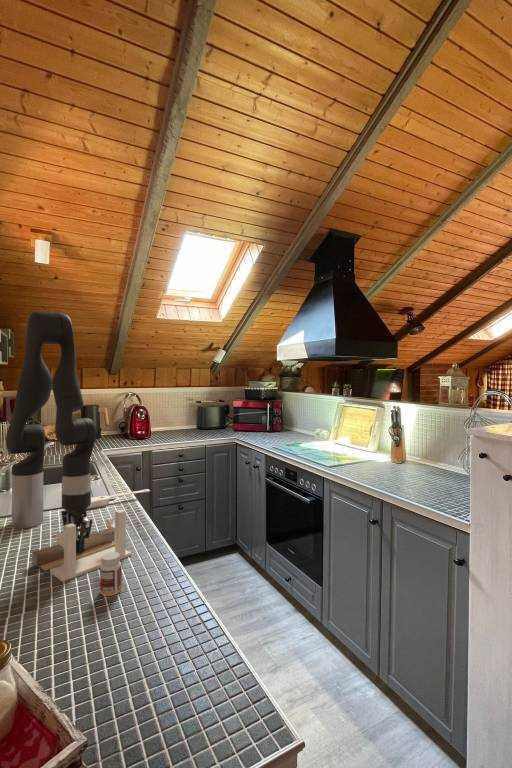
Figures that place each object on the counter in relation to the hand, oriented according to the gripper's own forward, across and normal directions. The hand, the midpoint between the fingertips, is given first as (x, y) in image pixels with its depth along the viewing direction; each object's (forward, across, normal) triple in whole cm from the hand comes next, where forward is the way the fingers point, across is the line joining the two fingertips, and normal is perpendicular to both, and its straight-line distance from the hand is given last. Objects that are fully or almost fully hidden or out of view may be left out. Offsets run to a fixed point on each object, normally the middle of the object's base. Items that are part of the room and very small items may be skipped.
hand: (76, 550), depth 113 cm
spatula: (+1, -32, +31) cm, 45 cm away
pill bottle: (+1, +25, -4) cm, 25 cm away
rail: (0, 0, 0) cm, 0 cm away
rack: (+1, +9, 0) cm, 9 cm away
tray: (+1, 0, 0) cm, 1 cm away
